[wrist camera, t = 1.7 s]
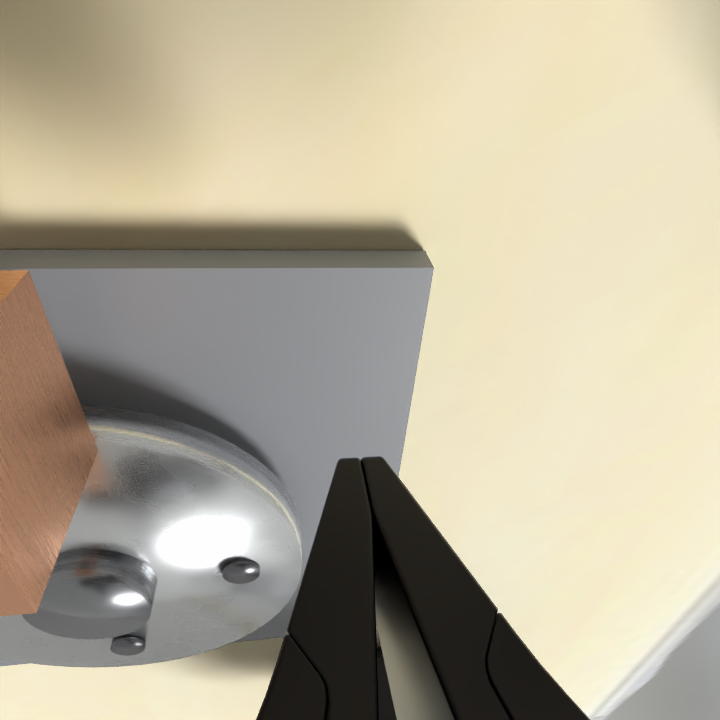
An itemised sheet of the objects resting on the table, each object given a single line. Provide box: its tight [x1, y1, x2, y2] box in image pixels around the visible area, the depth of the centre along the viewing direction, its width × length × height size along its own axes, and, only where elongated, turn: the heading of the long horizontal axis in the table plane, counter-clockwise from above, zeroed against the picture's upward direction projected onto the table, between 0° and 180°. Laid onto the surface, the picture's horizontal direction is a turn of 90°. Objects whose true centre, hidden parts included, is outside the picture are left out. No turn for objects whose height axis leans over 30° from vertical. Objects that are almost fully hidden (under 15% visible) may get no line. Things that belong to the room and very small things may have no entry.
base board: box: [0, 249, 434, 666], centre depth 18 cm, size 20×20×2 cm
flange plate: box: [0, 270, 302, 667], centre depth 13 cm, size 18×13×5 cm
